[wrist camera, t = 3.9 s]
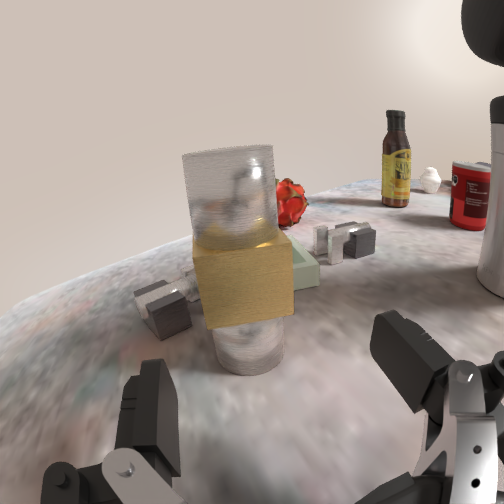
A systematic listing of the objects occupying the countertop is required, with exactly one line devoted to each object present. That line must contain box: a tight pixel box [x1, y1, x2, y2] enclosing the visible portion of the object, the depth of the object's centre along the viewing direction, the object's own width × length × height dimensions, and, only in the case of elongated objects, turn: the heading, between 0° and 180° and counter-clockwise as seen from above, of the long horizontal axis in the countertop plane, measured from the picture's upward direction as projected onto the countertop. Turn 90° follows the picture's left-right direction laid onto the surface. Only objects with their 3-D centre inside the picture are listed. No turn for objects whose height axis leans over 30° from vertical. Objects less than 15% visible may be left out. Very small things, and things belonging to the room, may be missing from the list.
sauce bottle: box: [381, 110, 411, 207], centre depth 51 cm, size 7×6×20 cm
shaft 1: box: [134, 265, 200, 341], centre depth 25 cm, size 7×4×3 cm, turn 131°
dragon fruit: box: [275, 178, 309, 227], centre depth 47 cm, size 8×8×12 cm
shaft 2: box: [313, 222, 376, 265], centre depth 35 cm, size 7×4×3 cm, turn 111°
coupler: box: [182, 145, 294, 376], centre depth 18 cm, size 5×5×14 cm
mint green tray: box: [287, 235, 320, 290], centre depth 32 cm, size 9×9×2 cm
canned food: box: [449, 161, 491, 231], centre depth 39 cm, size 8×8×11 cm
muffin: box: [420, 167, 441, 194], centre depth 64 cm, size 6×6×7 cm
